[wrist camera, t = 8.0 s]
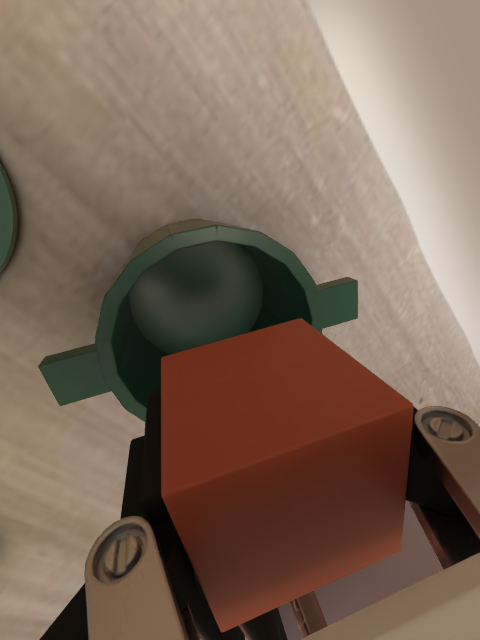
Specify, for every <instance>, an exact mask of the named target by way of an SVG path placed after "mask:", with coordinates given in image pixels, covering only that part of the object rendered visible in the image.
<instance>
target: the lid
mask: <svg viewBox="0 0 480 640" xmlns="http://www.w3.org/2000/svg"><path fill="white" fill-rule="evenodd" d="M17 226H18V217H17V208H16V202H15V198H14V194H13V190H12V187H11V185H10V182H9V180H8V177H7V174H6V172H5V170H4V169H3V167H2V165H1V163H0V273H1V271H2V270H3V269H4V267H5V266H6V264H7V262H8V261H9V259H10V257H11V254H12V252H13V249H14V246H15V242H16V237H17Z"/></svg>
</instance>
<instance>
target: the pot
mask: <svg viewBox="0 0 480 640" xmlns="http://www.w3.org/2000/svg"><path fill="white" fill-rule="evenodd" d="M299 318H302V319H303V320H304V321H306V322H307V323H308V324H310V325H311V326H312V327H313V328H315V329H316V330H317V331H319V332H320V333H321V334H322V329H323V328H326V327H330V326H333V325H336V324H340V323H343V322H347V321H350V320H353V319H357V318H358V281H357V280H355V279H352V278H349V277H345V278H342V279H338V280H334V281H330V282H326V283H323V284H319V285H316V284H315V281H314V280H313V278H312V277H311V276H310V274H309V273H308V271H307V270H306V269H305V267H304V266H303V265H302V263H301V262H300V260H299V259H298V258H297V256H296V255H295V254H294V253H293V252H292V251H291V250H289V249H287V248H286V247H284V246H283V245H281V244H279V243H278V242H276V241H274V240H273V239H271V238H270V237H268V236H266V235H265V234H263V233H261V232H259V231H255V230H250V229H246V228H241V227H237V226H232V225H228V224H223V223H218V222H212V221H206V220H200V219H192V220H187V221H180V222H177V223H172V224H167V226H166V225H165V226H163V227H162V228H160V229H159V230H157V231H155V232H154V233H152V234H151V235H149V236H148V237H146V238H145V239H143V240H142V241H141V242H140V243H139V244H138V246H137V247H136V249H135V250H134V252H133V253H132V254H131V256H130V257H129V259H128V260H127V262H126V263H125V264H124V266H123V268H122V269H121V271H120V272H119V274H118V276H117V277H116V279H115V281H114V282H113V284H112V285H111V287H110V289H109V290H108V292H107V293H106V295H105V298H104V299H103V303H102V308H101V313H100V317H99V322H98V327H97V331H96V336H95V339H96V340H95V344H91V345H88V346H84V347H80V348H76V349H73V350H69V351H65V352H61V353H57V354H54V355H50V356H46V357H45V358H44V359H43V361H42V362H41V363H40V364H39V366H38V367H39V369H40V371H41V373H42V375H43V376H44V378H45V380H46V382H47V384H48V385H49V387H50V389H51V391H52V393H53V395H54V396H55V398H56V400H57V402H58V404H59V405H60V406H62V405H65V404H69V403H72V402H76V401H79V400H82V399H86V398H89V397H93V396H96V395H99V394H103V393H106V392H110V391H112V392H113V393H114V394H115V396H116V397H117V399H118V400H119V401H120V403H121V404H122V406H123V407H124V408H125V409H126V410H127V411H129V412H130V413H132V414H134V415H135V416H137V417H138V418H140V419H141V420H143V421H145V422H146V409H147V395H148V393H152V392H155V391H158V390H161V358H162V357H164V356H167V355H171V354H175V353H178V352H182V351H185V350H189V349H192V348H196V347H199V346H203V345H207V344H210V343H214V342H217V341H221V340H224V339H228V338H231V337H235V336H239V335H242V334H246V333H249V332H253V331H256V330H260V329H263V328H267V327H271V326H274V325H278V324H281V323H285V322H288V321H292V320H295V319H299Z"/></svg>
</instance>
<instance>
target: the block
mask: <svg viewBox="0 0 480 640" xmlns="http://www.w3.org/2000/svg"><path fill="white" fill-rule="evenodd" d="M413 408H414V406H413V404H412V403H411V402H410V401H409V400H407V399H406V398H405V397H403V396H402V395H401V394H399V393H398V392H397V391H395V390H394V389H393V388H392V387H390V386H389V385H388V384H386V383H385V382H384V381H382V380H381V379H380V378H379V377H377V376H376V375H375V374H373V373H372V372H371V371H369V370H368V369H367V368H366V367H364V366H363V365H362V364H360V363H359V362H358V361H356V360H355V359H354V358H353V357H351V356H350V355H349V354H347V353H346V352H345V351H343V350H342V349H341V348H339V347H338V346H337V345H336V344H334V343H333V342H332V341H330V340H329V339H328V338H326V337H325V336H324V335H323V334H321V333H320V332H319V331H317V330H316V329H315V328H313V327H312V326H311V325H310V324H308V323H307V322H306V321H304V320H303V319H302V318H299V319H295V320H292V321H288V322H285V323H281V324H278V325H274V326H271V327H267V328H263V329H260V330H256V331H253V332H249V333H246V334H242V335H239V336H235V337H231V338H228V339H224V340H221V341H217V342H214V343H210V344H207V345H203V346H199V347H196V348H192V349H189V350H185V351H182V352H178V353H175V354H171V355H167V356H164V357H162V358H161V496H162V498H163V500H164V503H165V505H166V507H167V509H168V512H169V514H170V516H171V519H172V521H173V523H174V526H175V528H176V530H177V532H178V535H179V537H180V539H181V542H182V544H183V546H184V548H185V551H186V553H187V555H188V558H189V560H190V562H191V565H192V567H193V569H194V571H195V574H196V576H197V578H198V581H199V583H200V585H201V587H202V590H203V592H204V594H205V597H206V599H207V601H208V604H209V606H210V608H211V610H212V613H213V615H214V617H215V620H216V622H217V624H218V626H219V629H220V631H221V632H225V631H227V630H229V629H231V628H234V627H236V626H238V625H240V624H242V623H244V622H247V621H249V620H251V619H253V618H255V617H258V616H260V615H262V614H264V613H266V612H268V611H271V610H273V609H275V608H277V607H279V606H281V605H284V604H286V603H288V602H290V601H292V600H295V599H297V598H299V597H301V596H303V595H305V594H308V593H310V592H312V591H314V590H316V589H318V588H320V587H323V586H325V585H327V584H329V583H331V582H334V581H336V580H338V579H340V578H342V577H344V576H347V575H349V574H351V573H353V572H356V571H358V570H360V569H362V568H364V567H366V566H369V565H371V564H373V563H375V562H377V561H379V560H382V559H384V558H386V557H388V556H390V555H393V554H395V553H397V552H399V551H401V546H402V534H403V523H404V511H405V500H406V488H407V477H408V465H409V454H410V442H411V431H412V419H413Z"/></svg>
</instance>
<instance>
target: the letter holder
mask: <svg viewBox="0 0 480 640" xmlns="http://www.w3.org/2000/svg"><path fill="white" fill-rule="evenodd" d="M195 583H196V589H195V591H194V593H193V595H192V597H191V599H190V600H189V602H188V604H189V607H190V610H191V613H192V616H193V619H194V622H195V625H196V628H197V631H198V634H199V637H200V638H201V640H245V636H246V637H247V639H248V640H287V637H286V633H285V630H284V627H283V624H282V621H281V617H280V614H279V610H278V607H277V608H275V609H273V610H271V611H268V612H266V613H264V614H262V615H260V616H258V617H255V618H253V619H251V620H249V621H247V622H244V623H242V624H240V625H238V626H236V627H234V628H231V629H229V630H227V631H225V632H221V631H220V629H219V626H218V624H217V622H216V620H215V617H214V615H213V613H212V610H211V608H210V606H209V604H208V601H207V599H206V597H205V594H204V592H203V590H202V587H201V585H200V583H199V581H198V580H197V581H195ZM290 604H291V607H292V610H293V613H294V616H295V619H296V622H297V624H298V626H299V629H300V631H301V633H302V635H303V637H304V638H305V637H307V636H309V635H311V634H313V633H315V632H317V631H319V630H321V629H323V628H325V627H327V624H326V621H325V618H324V616H323V613H322V610H321V608H320V605H319V603H318V600H317V598H316V595H315V592H314V591H312V592H310V593H308V594H305V595H303V596H301V597H299V598H297V599H295V600H292V601H290ZM244 635H245V636H244Z"/></svg>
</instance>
